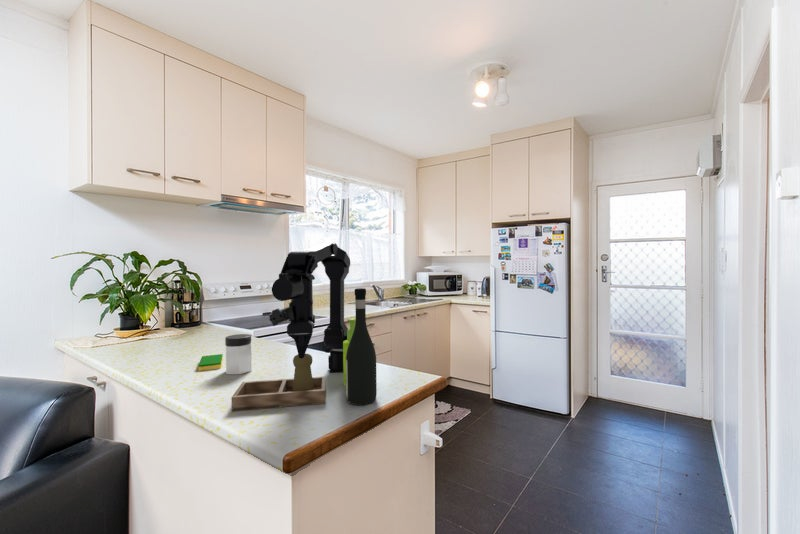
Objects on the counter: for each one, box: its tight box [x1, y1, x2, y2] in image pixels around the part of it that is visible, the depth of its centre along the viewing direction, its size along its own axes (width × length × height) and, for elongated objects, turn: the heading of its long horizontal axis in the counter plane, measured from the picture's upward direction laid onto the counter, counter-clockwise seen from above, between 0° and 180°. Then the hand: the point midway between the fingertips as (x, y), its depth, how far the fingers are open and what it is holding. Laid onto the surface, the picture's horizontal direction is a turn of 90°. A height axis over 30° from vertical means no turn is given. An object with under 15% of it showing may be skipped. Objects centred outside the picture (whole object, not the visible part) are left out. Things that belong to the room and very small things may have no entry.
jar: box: [224, 333, 253, 375], centre depth 126 cm, size 9×8×12 cm
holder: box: [231, 375, 327, 412], centre depth 100 cm, size 23×12×4 cm, turn 101°
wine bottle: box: [345, 287, 378, 406], centre depth 98 cm, size 8×8×30 cm
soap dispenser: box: [342, 317, 356, 387], centre depth 111 cm, size 6×7×20 cm
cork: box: [292, 353, 314, 391], centre depth 101 cm, size 6×6×11 cm
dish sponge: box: [197, 353, 224, 372], centre depth 134 cm, size 7×14×2 cm, turn 24°
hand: (302, 353), depth 101 cm, fingers open, 9 cm apart
